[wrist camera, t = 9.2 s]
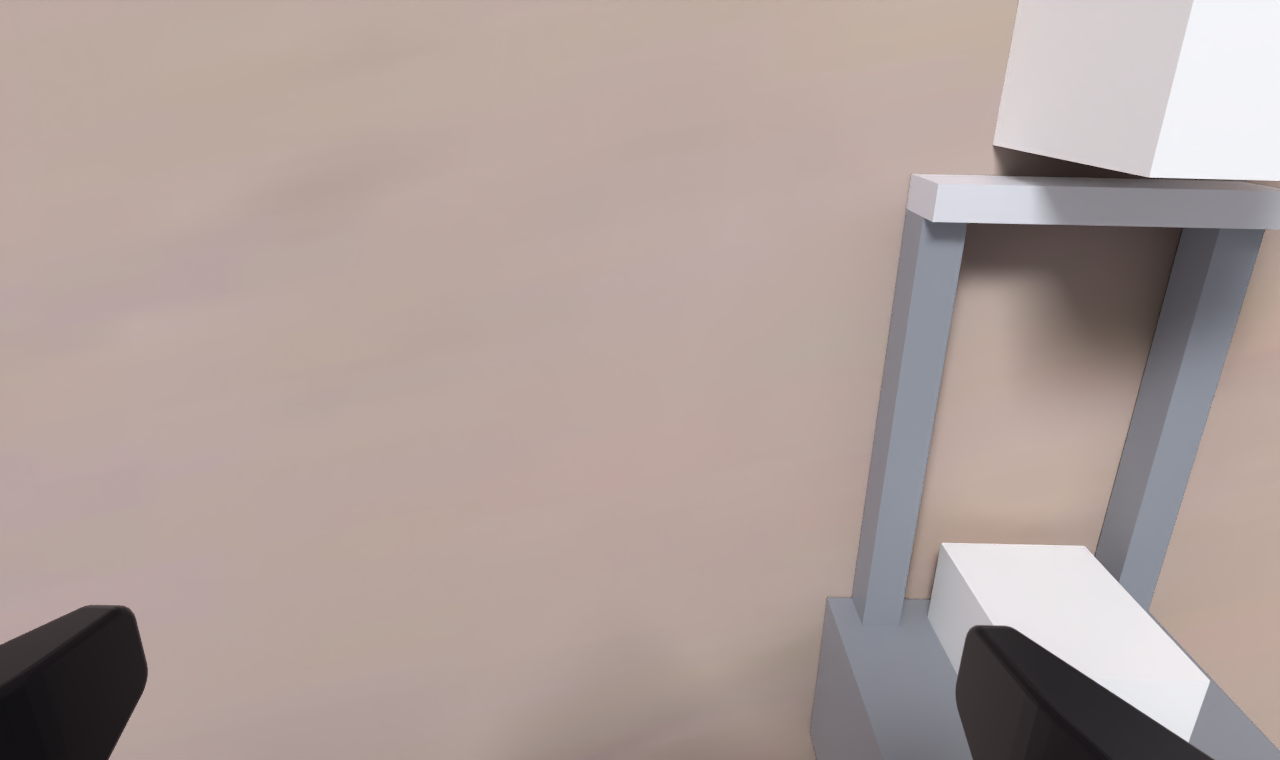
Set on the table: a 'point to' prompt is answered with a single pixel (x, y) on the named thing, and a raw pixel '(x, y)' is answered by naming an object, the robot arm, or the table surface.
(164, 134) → the table surface
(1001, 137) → the white banded block
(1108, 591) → the grey frame stand
